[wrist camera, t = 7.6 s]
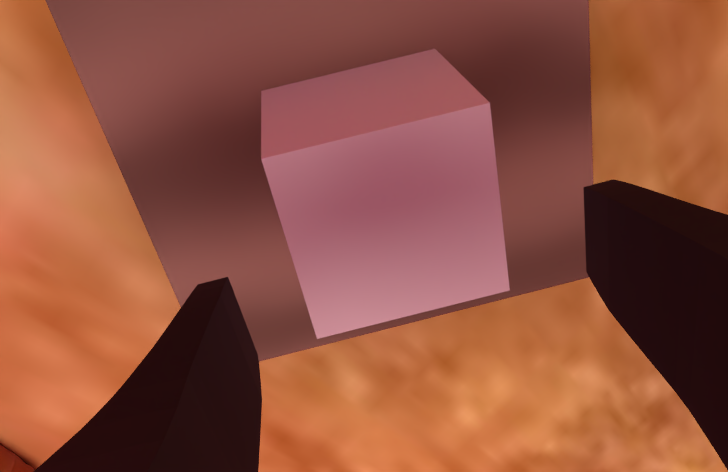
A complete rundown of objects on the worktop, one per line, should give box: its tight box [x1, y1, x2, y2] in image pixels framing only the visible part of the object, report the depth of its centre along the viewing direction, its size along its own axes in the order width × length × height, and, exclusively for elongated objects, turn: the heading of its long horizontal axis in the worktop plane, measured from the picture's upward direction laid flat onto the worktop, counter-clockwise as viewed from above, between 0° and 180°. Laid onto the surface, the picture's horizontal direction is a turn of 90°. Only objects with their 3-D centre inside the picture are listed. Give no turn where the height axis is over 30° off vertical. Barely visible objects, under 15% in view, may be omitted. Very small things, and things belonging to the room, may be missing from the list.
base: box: [46, 0, 593, 361], centre depth 20 cm, size 14×14×3 cm
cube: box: [261, 49, 510, 339], centre depth 17 cm, size 5×5×5 cm
